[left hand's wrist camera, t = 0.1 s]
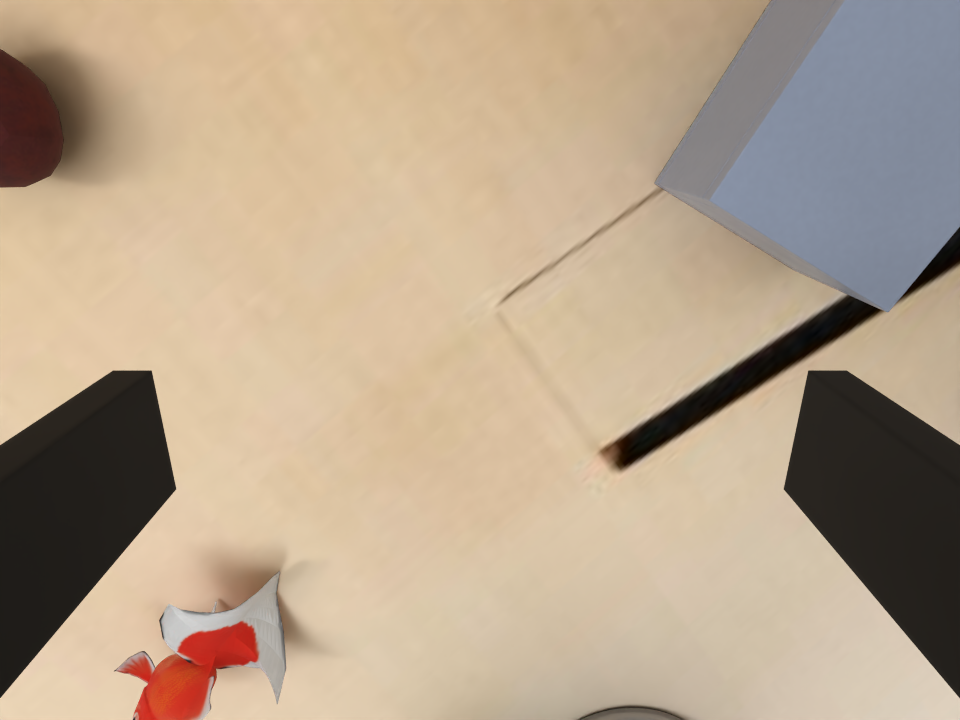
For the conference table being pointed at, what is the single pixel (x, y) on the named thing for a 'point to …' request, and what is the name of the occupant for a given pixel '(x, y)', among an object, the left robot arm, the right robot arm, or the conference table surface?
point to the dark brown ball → (26, 126)
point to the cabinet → (835, 141)
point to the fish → (209, 655)
